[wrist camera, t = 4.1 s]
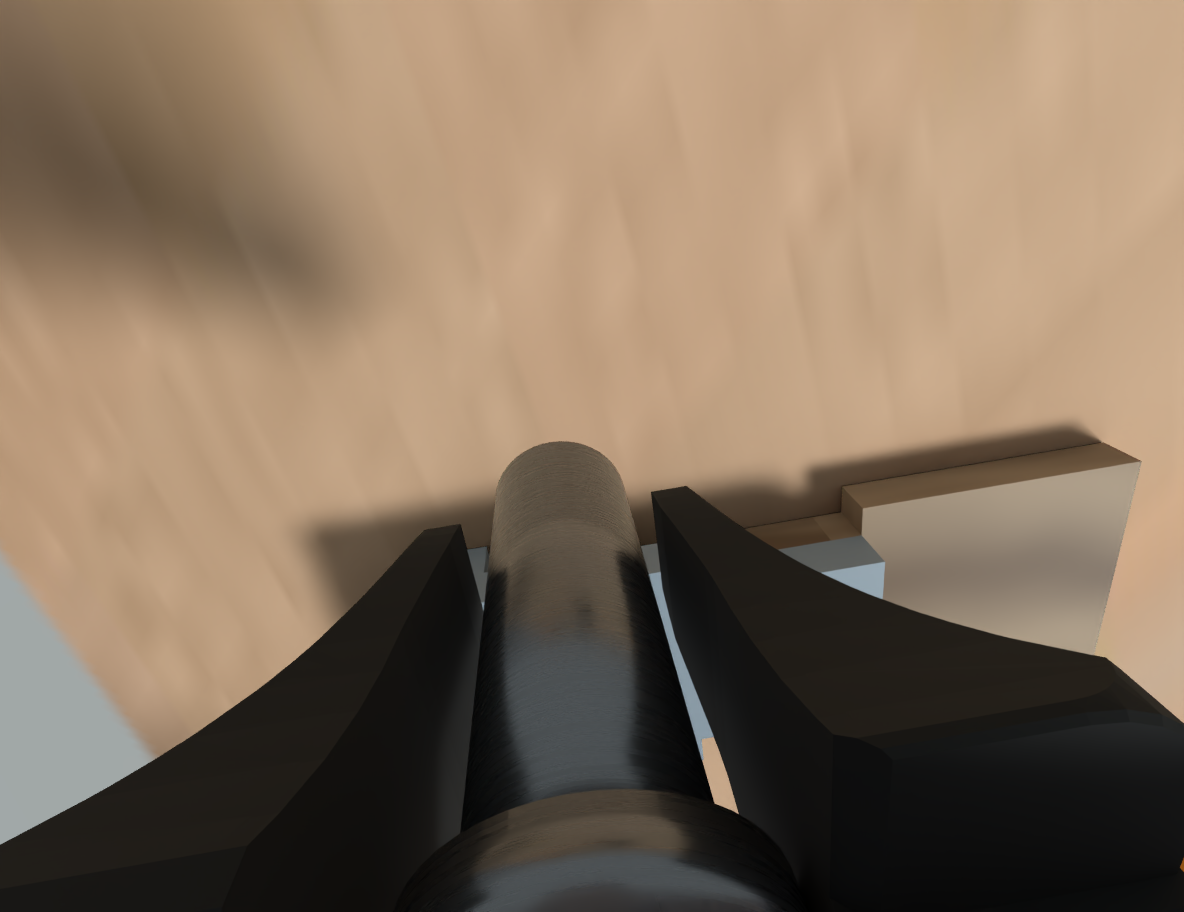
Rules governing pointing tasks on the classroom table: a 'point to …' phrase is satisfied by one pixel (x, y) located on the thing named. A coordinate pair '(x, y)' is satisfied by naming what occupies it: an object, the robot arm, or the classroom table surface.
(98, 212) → the classroom table surface
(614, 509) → the hinge pin
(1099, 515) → the hinge leaf
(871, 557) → the hinge leaf
